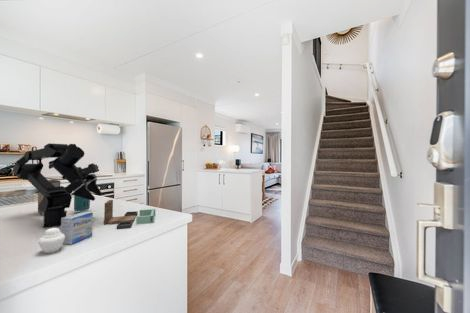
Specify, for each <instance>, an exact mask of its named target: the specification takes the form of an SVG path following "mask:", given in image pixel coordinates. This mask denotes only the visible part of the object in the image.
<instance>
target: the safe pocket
mask: <svg viewBox="0 0 470 313" xmlns="http://www.w3.org/2000/svg"><path fill="white" fill-rule="evenodd" d="M155 216H156V208H149V209H139V216H138V215H137V216H136V218H135V221H136V222H135V223H136V225H140V224H143V225H144V224H153V223H155Z"/></svg>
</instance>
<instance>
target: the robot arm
mask: <svg viewBox="0 0 470 313" xmlns="http://www.w3.org/2000/svg"><path fill="white" fill-rule="evenodd" d="M84 156H85V151H84V150H83V149H82V148H81V147H79V146H77V145H76V144H75V143H69V144H67V143H50V142H49V143H47V144H45V145H44V147H43V148H39V149H34V150H28V151H25V152H24V154H23V155H22V157H20V158H19V159H18V160H16V161H15V164H14V166H13V168H12V172H13V173H12V174H14V175H15V177H17V178H18V179H20V180H25V181H28V182H29V183H30V184H31V185H32V186H33V187H34V188H35V189H36V190H37V191H39V192H40V193H41V194H42V195H43V200H42V201H41V203H40V204H39V206H38V205H37V208H38V207H39V211H41V212H44V216H43V225H42V228H48V227H50V228H51V227H55V226H61V218H63V217H67V210H65V209H68V208H70V207H71V202H72V198H73V196H74V195H75V196H79V197H82V198H86V199H89V200H90V201H91V202H92V201H95V200H96V197H95V196H94V195H93V194H95V195H97V196H102V195H103V194H102V192H101V189H100V188H99V185H98V184H97V180H98V176H97V175H96V173H97V172H100V168H99V166H98V164H96V163H89V164H88V165H87V167H84V168H82V167H81V166H76V164H77V163H78V162H79V161H81V159H82V158H83V157H84ZM49 158H51V159H52V158H55V159H53V160H51V161H48V169H49V170H50V169H54V170H55V171H57V172H58V173H59V174H60V175H61V178H62V180H66V181H67V182H68V183H69V184H68V185H66V186H63V185H60V186H59V187H55V186H54V185H53V184H52V183H51V182H49V181H48V180H49V179H47V178H46V177H45V176H44V175H43V173H42V169H44V164H43V162H42V160H44V159H49ZM29 161H38V162H37V163H28V162H29Z"/></svg>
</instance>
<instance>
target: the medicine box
mask: <svg viewBox="0 0 470 313" xmlns="http://www.w3.org/2000/svg"><path fill="white" fill-rule="evenodd" d="M93 215H94V213H93V211H92V212H91V211H80V212H78V213H73V214H70V215H68V216H67V215H66V217H63V218H61V225H60V232H61V233H62V234H64V235H65V239H64V242H63V243H62V245H70V246H71V245H75V244H77V243H79V242H81V241H84V240H86V239H88V238H90V237H92V236H93V222H94V221H93V218H94V217H93Z"/></svg>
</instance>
